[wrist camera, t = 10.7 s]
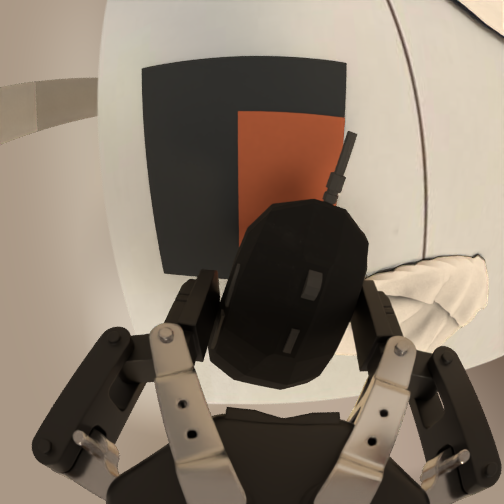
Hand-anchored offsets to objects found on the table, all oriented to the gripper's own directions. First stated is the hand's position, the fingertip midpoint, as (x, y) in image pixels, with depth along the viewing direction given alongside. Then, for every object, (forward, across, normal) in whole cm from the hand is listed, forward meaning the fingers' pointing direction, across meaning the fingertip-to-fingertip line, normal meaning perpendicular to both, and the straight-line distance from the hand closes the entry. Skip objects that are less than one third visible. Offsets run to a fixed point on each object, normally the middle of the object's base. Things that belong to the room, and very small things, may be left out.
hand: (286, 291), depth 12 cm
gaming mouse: (+1, 0, 0) cm, 1 cm away
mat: (+12, +4, -2) cm, 12 cm away
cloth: (+12, -16, +12) cm, 23 cm away
